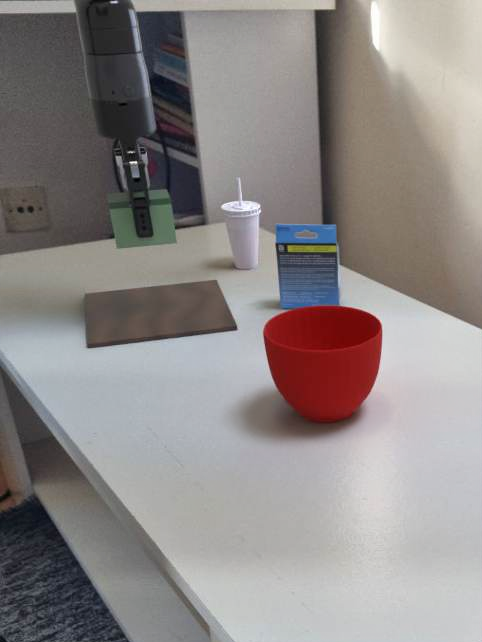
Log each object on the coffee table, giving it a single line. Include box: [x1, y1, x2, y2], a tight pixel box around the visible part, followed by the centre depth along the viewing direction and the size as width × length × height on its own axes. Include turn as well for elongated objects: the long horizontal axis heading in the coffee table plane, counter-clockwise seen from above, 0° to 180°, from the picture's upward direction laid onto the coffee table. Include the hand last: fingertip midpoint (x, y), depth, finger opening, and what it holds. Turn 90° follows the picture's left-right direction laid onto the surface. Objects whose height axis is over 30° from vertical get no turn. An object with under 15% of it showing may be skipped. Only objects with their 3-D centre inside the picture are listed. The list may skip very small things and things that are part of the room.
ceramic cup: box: [262, 305, 383, 423], centre depth 91 cm, size 13×17×10 cm
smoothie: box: [220, 177, 262, 270], centre depth 131 cm, size 6×6×14 cm
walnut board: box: [84, 279, 239, 349], centre depth 117 cm, size 20×20×1 cm
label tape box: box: [274, 223, 342, 310], centre depth 116 cm, size 9×4×12 cm, turn 89°
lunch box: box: [106, 188, 178, 250], centre depth 110 cm, size 5×8×6 cm, turn 108°
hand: (143, 230), depth 111 cm, fingers closed on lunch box, 5 cm apart
